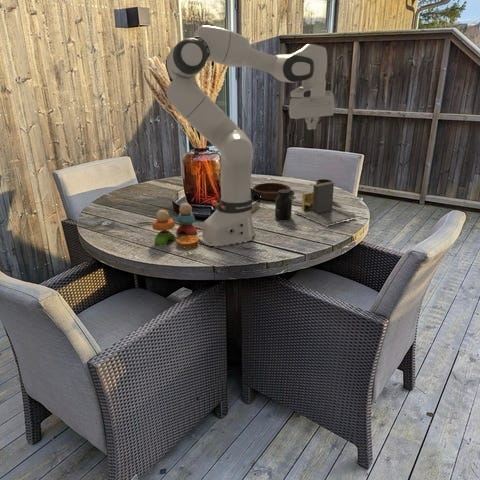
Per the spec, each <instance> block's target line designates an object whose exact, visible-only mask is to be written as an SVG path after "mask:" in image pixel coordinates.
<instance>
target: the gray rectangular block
mask: <svg viewBox="0 0 480 480" xmlns="http://www.w3.org/2000/svg"><path fill="white" fill-rule="evenodd" d="M334 186H335V183H334V182H333V181H332V182H326V183H321V184H316V183H315V184H313V206H309V210H311V211H312V212H314V213H317V214H319V213H323V212H327V211H331V210H332V206H333V199H334V188H335V187H334Z"/></svg>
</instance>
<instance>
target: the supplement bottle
mask: <svg viewBox="0 0 480 480" xmlns="http://www.w3.org/2000/svg"><path fill="white" fill-rule="evenodd" d="M274 204H275V209H274V219H276V220H277V219H278V221H280V220H287V221H289V219H290V220H291V219H292V212H293V211H292V209H293V206H292V205H293V200H292V196H290V191H289V190H279V191H278V197H277V198H276V200H275V203H274Z"/></svg>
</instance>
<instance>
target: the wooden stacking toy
mask: <svg viewBox="0 0 480 480" xmlns="http://www.w3.org/2000/svg"><path fill="white" fill-rule="evenodd" d="M192 211H193V207H192V205H190V204H189V203H187V202H183V203H181V205H179V214H178V216H177V218H176V221H177V222H178V224H180V225H179V226H178V228H177V230H176V235H180V234H181V233H183V232H184V234H185V233H186V234H185V235H182V236H179V237H177V238H176V236H175V235H174V234H173V232H171V231H169V230H172V229H173V228H174V227H176V224H175V221H174V220H173V218H170V214H169V212H168V211H167V210H165V209H160V210H158V211H157V212H156V215H155V218H156V219H155V220H153V223H152V229H153V230H154V231H159V232H158V233H157V234H156V236H155V238H154V245H156V244H157V245H156V246H159V245H166V246H167V244H168V242H169V240H170V241H174V240H175V241H176V243H177V246H178V247H179V246H180V247H179V248H181V247H185V248H184V249H190V248H189V247H193V248H195V247H197V246H198V243H199V240H198V238H197V234H198V230H197V229H196V227H195V225H193V223H194V222H195V221H196V218H195V216H194V214H193V212H192ZM195 234H196V235H195ZM193 235H195V236H193ZM196 245H197V246H196ZM194 246H195V247H194Z"/></svg>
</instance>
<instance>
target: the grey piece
mask: <svg viewBox="0 0 480 480" xmlns="http://www.w3.org/2000/svg"><path fill="white" fill-rule="evenodd" d="M309 206H313V191H310V192H309V191H308V192H303V193H302V201H301V208H298V209H295V210H294V214H295V213H297V214H300V215H303V216H305V217H308V218H310V219H313V220H315V221H318V222H321V223H323V224H325V225H329V224H333V223H336V222H340V221H343V220H347V219H351V218H355V219H356V214H355V213H354V212H351V211H348V210H346V209H344V208H340V207H337V206H335V205H332V210H331V211H327V212H323V213H319V214H317V213H314V212H312V211H311V210H309ZM297 214H296V215H297Z"/></svg>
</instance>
